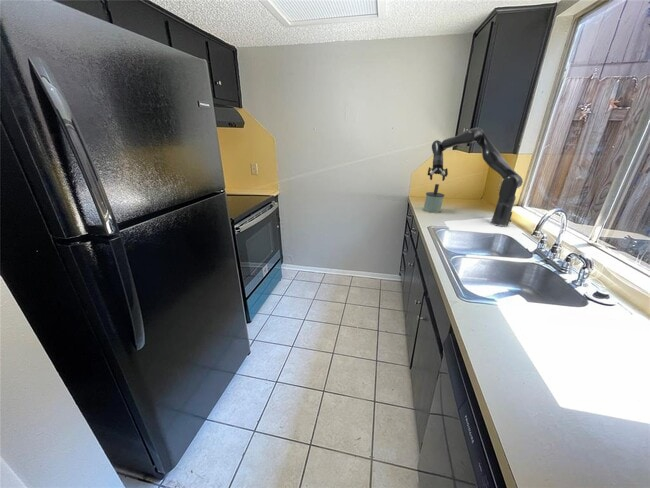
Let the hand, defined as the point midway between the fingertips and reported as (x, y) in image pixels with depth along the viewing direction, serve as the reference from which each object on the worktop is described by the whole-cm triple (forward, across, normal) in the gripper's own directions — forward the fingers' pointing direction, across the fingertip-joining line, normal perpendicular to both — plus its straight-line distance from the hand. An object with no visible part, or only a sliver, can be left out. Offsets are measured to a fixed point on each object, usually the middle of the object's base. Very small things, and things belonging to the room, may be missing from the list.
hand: (437, 179), depth 197 cm
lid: (+10, 0, +6) cm, 11 cm away
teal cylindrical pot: (+19, 0, +14) cm, 24 cm away
